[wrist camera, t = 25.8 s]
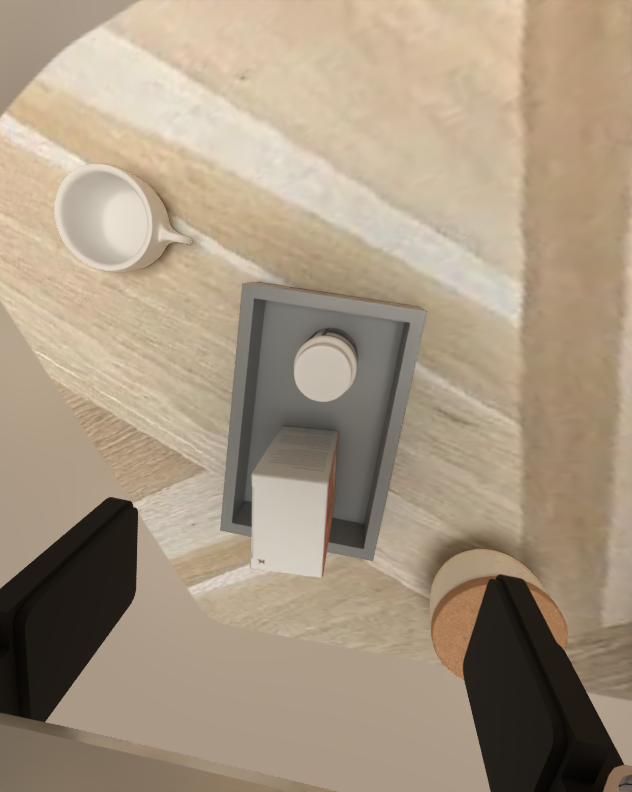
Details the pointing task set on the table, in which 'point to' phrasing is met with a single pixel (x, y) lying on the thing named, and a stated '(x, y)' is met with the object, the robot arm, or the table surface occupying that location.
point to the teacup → (112, 219)
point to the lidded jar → (477, 601)
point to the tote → (348, 414)
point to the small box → (294, 502)
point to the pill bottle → (326, 365)
